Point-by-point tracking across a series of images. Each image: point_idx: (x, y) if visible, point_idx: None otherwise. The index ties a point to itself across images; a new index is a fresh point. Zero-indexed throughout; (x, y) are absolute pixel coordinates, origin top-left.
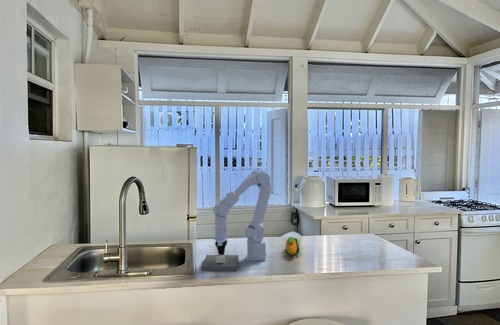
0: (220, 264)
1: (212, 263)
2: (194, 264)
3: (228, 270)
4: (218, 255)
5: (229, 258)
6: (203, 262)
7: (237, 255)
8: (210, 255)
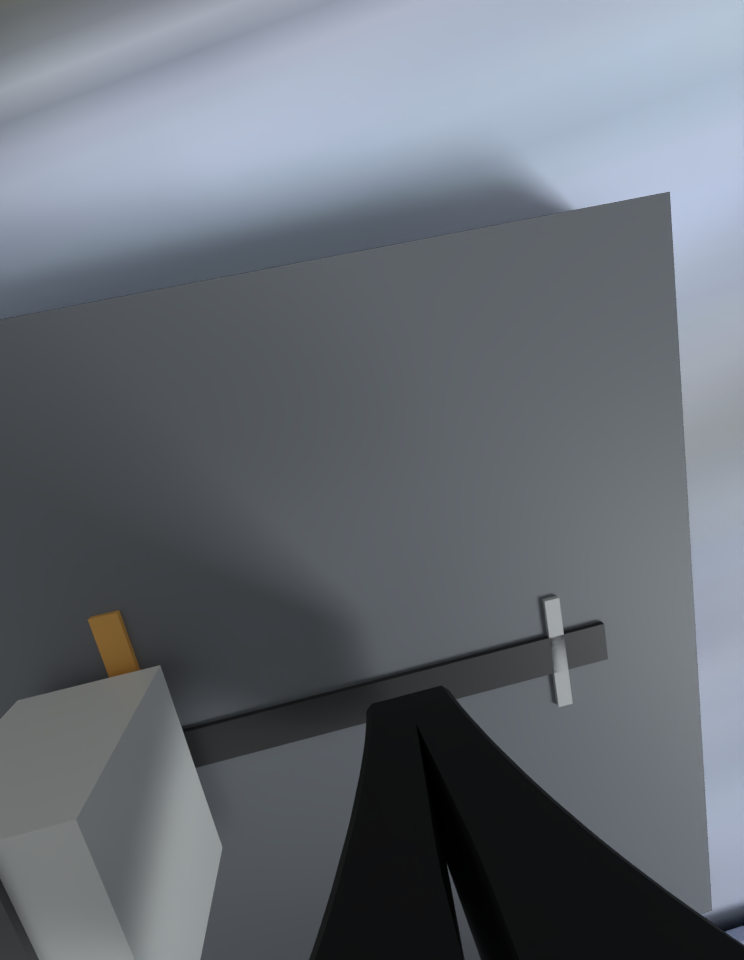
0: None
1: (27, 601)
2: (168, 24)
3: None
4: (4, 939)
5: None
6: (16, 322)
7: (687, 903)
8: (644, 325)
